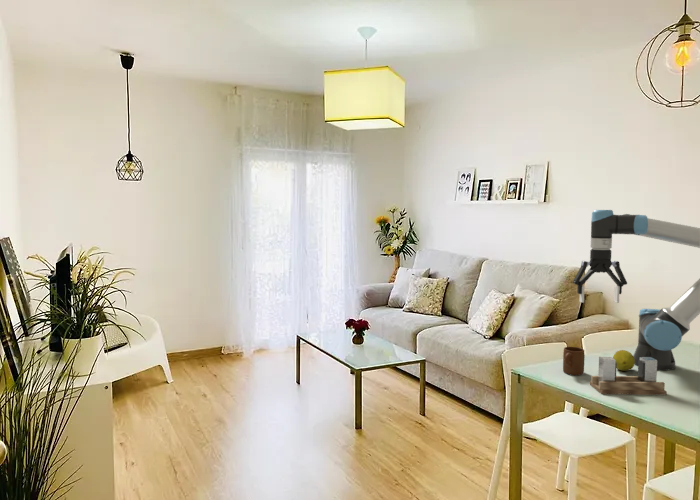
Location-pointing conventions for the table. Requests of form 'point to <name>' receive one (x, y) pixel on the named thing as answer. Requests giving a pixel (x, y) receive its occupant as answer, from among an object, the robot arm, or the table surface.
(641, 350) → the robot arm
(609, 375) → the block
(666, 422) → the table surface
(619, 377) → the rail
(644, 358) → the finger
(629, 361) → the lemon
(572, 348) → the mug
